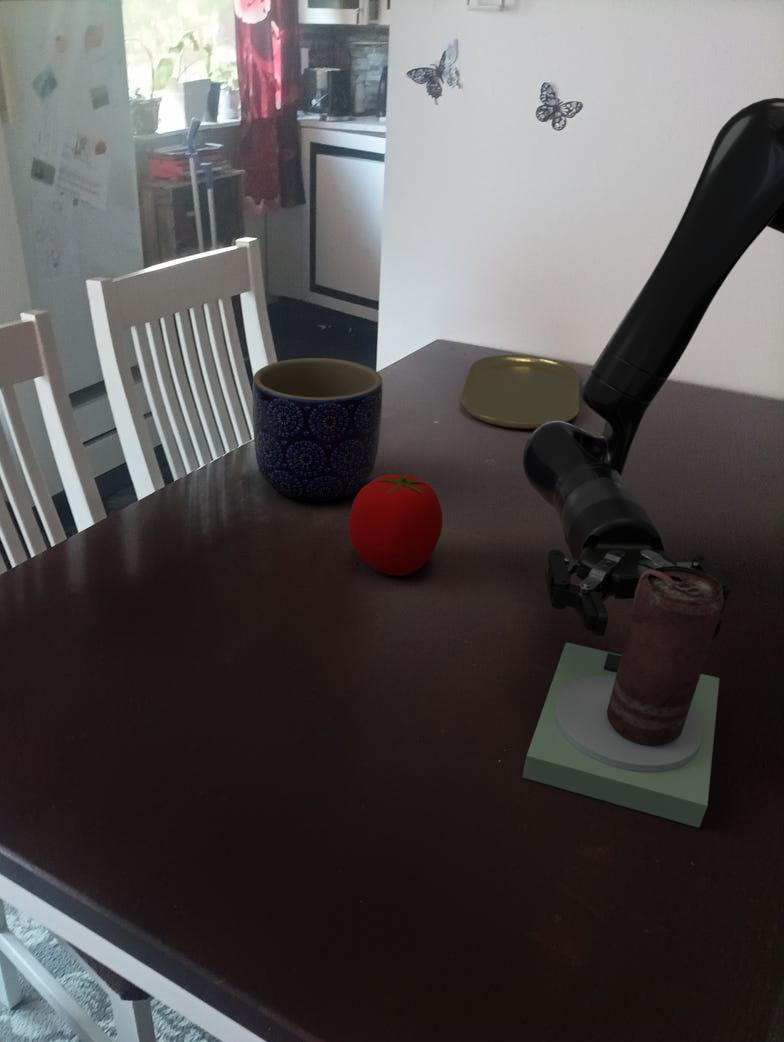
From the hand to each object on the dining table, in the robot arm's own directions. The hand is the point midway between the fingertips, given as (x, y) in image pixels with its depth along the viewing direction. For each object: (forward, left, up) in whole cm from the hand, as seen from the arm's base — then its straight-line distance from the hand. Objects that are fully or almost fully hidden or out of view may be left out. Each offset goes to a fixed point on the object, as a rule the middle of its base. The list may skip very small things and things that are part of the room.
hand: (656, 629), depth 71 cm
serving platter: (-50, -76, -13) cm, 92 cm away
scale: (-2, -2, -13) cm, 13 cm away
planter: (-2, -60, -13) cm, 61 cm away
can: (-1, +1, -10) cm, 10 cm away
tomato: (0, -37, -13) cm, 39 cm away
